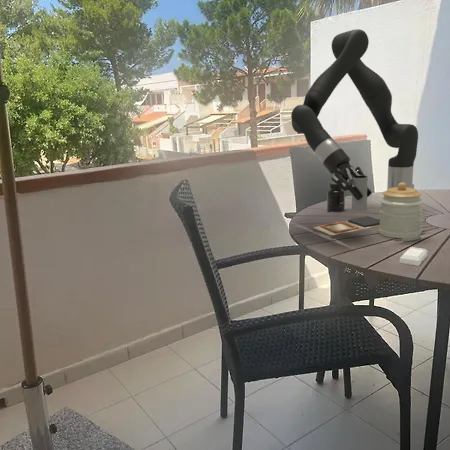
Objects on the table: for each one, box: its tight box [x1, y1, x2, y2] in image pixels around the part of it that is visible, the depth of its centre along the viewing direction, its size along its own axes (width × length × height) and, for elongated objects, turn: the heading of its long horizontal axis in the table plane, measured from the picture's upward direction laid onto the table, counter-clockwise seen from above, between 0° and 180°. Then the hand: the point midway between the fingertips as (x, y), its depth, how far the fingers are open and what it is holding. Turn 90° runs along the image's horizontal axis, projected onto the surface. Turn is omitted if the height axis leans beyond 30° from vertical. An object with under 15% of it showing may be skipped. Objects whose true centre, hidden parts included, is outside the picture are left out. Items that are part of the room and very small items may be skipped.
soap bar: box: [399, 246, 428, 267], centre depth 121 cm, size 5×9×3 cm, turn 142°
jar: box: [378, 182, 424, 242], centre depth 139 cm, size 13×13×18 cm
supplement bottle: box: [326, 181, 346, 213], centre depth 173 cm, size 7×7×12 cm
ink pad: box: [347, 215, 380, 228], centre depth 154 cm, size 9×9×1 cm
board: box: [311, 216, 380, 240], centre depth 152 cm, size 26×11×2 cm, turn 113°
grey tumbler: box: [351, 174, 369, 211], centre depth 135 cm, size 4×4×10 cm
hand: (365, 196), depth 134 cm, fingers closed on grey tumbler, 4 cm apart
